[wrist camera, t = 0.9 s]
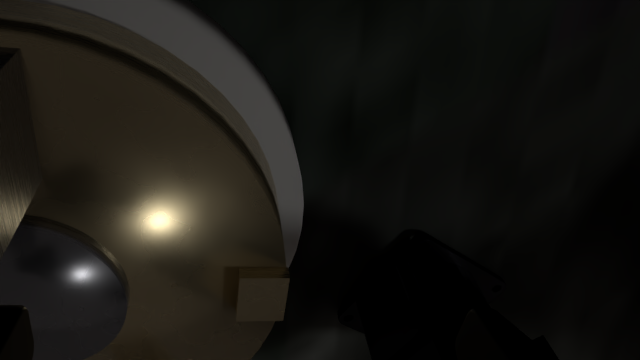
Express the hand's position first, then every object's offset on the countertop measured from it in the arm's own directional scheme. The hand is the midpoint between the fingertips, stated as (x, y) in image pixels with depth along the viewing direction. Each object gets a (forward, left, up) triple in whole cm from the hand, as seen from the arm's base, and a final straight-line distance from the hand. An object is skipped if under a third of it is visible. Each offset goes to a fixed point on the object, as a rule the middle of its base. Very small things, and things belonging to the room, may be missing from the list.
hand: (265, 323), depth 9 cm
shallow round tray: (+3, +8, -10) cm, 13 cm away
